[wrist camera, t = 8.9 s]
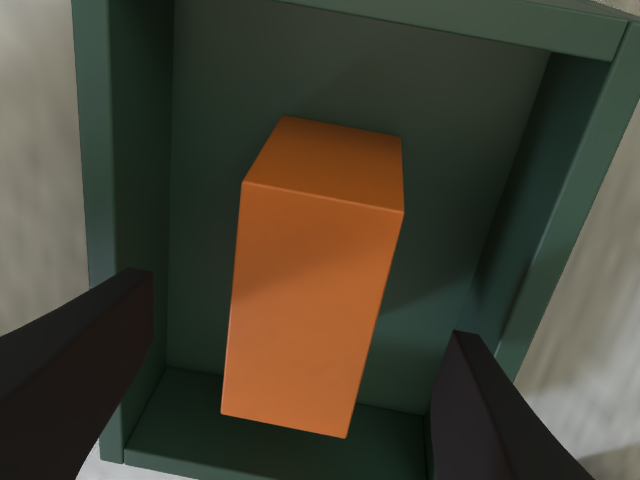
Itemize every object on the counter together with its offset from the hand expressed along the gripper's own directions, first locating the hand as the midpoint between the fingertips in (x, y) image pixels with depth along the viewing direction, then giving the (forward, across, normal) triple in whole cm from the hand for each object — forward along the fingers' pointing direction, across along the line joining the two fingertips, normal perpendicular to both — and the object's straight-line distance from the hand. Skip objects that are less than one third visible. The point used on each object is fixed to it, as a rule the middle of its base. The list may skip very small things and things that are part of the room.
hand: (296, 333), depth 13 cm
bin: (+6, 0, 0) cm, 6 cm away
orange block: (+5, 0, 0) cm, 5 cm away
